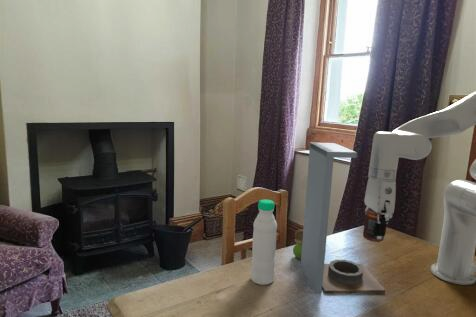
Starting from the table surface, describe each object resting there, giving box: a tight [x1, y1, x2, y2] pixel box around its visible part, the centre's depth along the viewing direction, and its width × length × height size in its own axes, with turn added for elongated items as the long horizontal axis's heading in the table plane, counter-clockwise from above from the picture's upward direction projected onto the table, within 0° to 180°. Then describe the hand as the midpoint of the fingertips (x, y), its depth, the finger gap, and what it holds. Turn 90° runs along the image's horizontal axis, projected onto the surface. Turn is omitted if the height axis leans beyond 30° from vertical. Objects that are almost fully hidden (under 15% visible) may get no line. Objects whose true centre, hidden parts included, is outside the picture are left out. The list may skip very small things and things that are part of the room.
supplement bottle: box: [362, 208, 385, 243], centre depth 106 cm, size 6×6×11 cm
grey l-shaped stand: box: [300, 141, 358, 295], centre depth 105 cm, size 8×17×42 cm, turn 5°
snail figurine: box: [292, 229, 303, 260], centre depth 121 cm, size 5×6×12 cm
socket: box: [322, 259, 386, 295], centre depth 109 cm, size 18×16×4 cm
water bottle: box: [250, 199, 278, 286], centre depth 105 cm, size 7×7×25 cm
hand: (374, 230), depth 107 cm, fingers closed on supplement bottle, 6 cm apart
